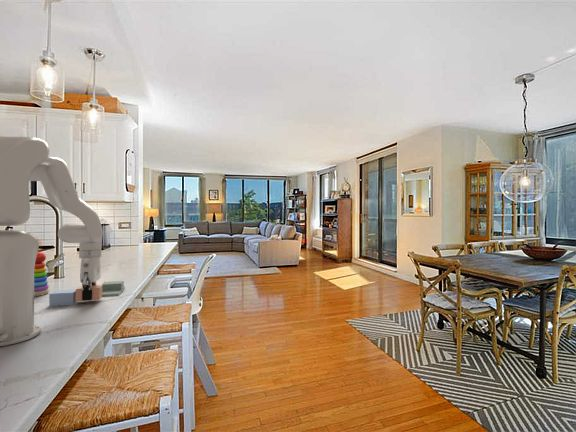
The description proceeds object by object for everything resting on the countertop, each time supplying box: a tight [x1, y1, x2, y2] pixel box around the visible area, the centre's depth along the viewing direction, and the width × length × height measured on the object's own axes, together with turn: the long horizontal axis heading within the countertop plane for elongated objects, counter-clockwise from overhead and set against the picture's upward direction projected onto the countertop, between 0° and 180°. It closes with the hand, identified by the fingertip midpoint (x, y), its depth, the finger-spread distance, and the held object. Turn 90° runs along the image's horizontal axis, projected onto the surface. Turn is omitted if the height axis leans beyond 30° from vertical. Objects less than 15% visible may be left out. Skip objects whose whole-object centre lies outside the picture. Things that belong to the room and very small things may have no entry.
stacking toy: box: [34, 251, 50, 297], centre depth 126 cm, size 8×8×19 cm
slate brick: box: [48, 288, 77, 307], centre depth 115 cm, size 5×8×5 cm, turn 104°
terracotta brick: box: [75, 284, 102, 303], centre depth 117 cm, size 5×8×5 cm, turn 111°
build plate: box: [101, 280, 126, 298], centre depth 130 cm, size 13×16×4 cm
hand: (89, 297), depth 117 cm, fingers closed on terracotta brick, 5 cm apart
